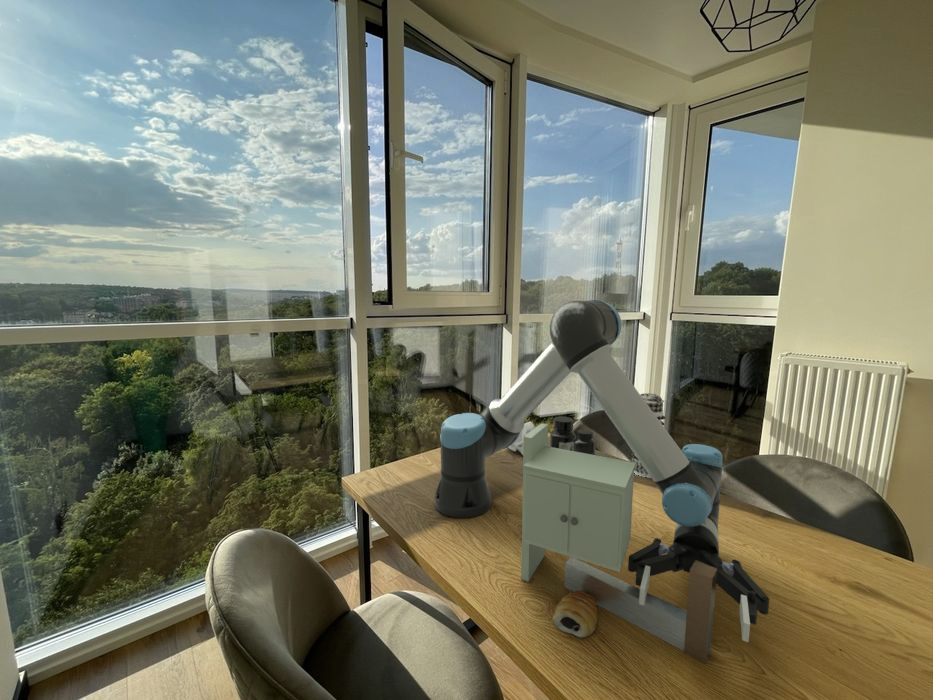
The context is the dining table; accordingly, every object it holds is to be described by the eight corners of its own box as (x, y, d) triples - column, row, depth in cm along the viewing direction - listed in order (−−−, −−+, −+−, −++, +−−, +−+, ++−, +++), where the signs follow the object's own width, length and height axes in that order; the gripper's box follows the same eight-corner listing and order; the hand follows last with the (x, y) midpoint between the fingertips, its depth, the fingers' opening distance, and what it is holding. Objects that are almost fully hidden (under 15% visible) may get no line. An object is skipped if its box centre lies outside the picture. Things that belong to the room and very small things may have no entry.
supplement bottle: (595, 472, 130) (597, 435, 128) (573, 470, 131) (574, 434, 129) (593, 464, 136) (594, 429, 135) (572, 462, 138) (573, 427, 136)
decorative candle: (659, 468, 133) (664, 392, 130) (663, 480, 124) (668, 399, 121) (629, 464, 136) (633, 390, 132) (630, 476, 127) (635, 397, 124)
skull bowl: (536, 458, 137) (520, 424, 140) (508, 469, 147) (495, 437, 150) (554, 450, 144) (539, 417, 148) (526, 461, 154) (513, 430, 157)
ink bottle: (564, 458, 141) (565, 424, 139) (544, 451, 148) (544, 419, 146) (581, 452, 147) (582, 419, 145) (561, 445, 154) (562, 414, 152)
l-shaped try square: (563, 587, 78) (566, 518, 76) (571, 580, 80) (573, 512, 79) (705, 664, 62) (712, 578, 60) (710, 651, 64) (717, 568, 62)
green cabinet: (512, 592, 77) (514, 443, 73) (538, 553, 89) (541, 423, 85) (617, 632, 68) (625, 464, 64) (630, 583, 79) (637, 438, 76)
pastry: (568, 594, 77) (569, 575, 76) (605, 608, 73) (606, 589, 73) (549, 627, 69) (550, 607, 69) (590, 646, 65) (591, 624, 65)
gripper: (774, 582, 73) (794, 675, 55) (626, 540, 86) (603, 605, 68) (778, 542, 72) (800, 624, 54) (628, 506, 85) (605, 563, 67)
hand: (691, 614), depth 61 cm, fingers open, 13 cm apart
